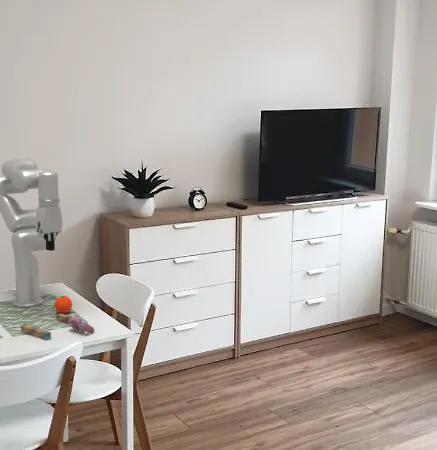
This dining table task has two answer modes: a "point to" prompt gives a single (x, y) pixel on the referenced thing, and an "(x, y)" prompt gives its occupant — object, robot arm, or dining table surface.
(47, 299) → the dining table surface
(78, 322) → the video game controller
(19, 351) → the dining table surface
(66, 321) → the channel
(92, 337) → the dining table surface
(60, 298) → the clementine
